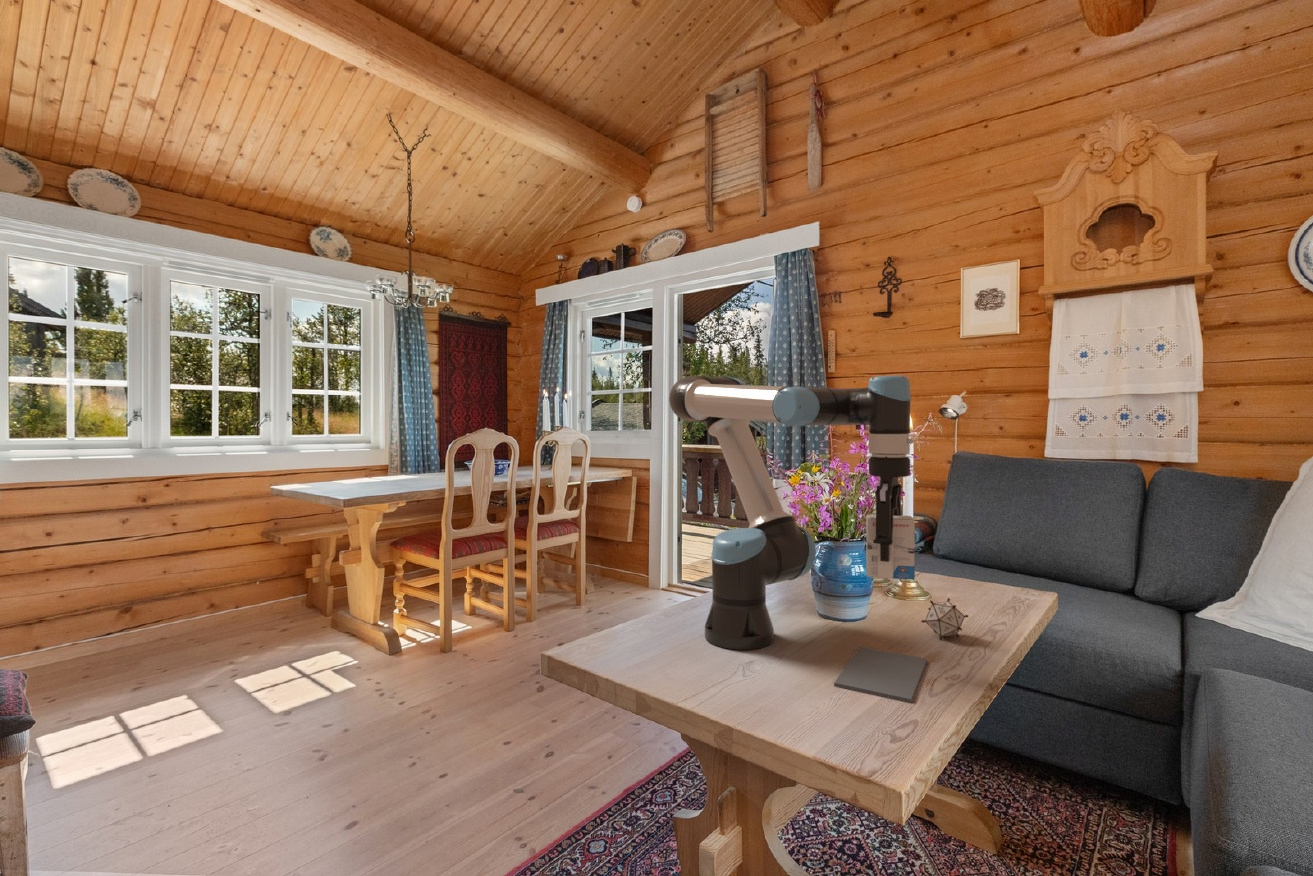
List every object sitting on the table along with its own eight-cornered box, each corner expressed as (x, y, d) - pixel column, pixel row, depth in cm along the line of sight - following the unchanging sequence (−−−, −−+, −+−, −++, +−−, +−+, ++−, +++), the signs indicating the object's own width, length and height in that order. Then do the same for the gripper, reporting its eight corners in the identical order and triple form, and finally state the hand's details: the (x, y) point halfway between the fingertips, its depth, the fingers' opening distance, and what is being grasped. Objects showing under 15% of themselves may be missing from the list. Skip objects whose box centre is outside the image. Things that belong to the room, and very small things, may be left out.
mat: (834, 686, 110) (834, 682, 110) (859, 649, 127) (859, 646, 127) (911, 702, 103) (911, 699, 103) (926, 662, 120) (926, 659, 120)
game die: (953, 656, 133) (976, 628, 127) (915, 639, 134) (936, 612, 128) (952, 624, 140) (974, 597, 134) (915, 609, 141) (935, 582, 135)
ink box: (911, 574, 120) (911, 515, 120) (915, 580, 116) (915, 518, 116) (865, 572, 123) (865, 513, 123) (867, 577, 118) (867, 517, 118)
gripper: (901, 459, 109) (900, 587, 109) (917, 453, 125) (916, 565, 126) (858, 458, 112) (857, 582, 113) (878, 452, 129) (878, 561, 129)
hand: (888, 573), depth 119 cm, fingers closed on ink box, 6 cm apart
